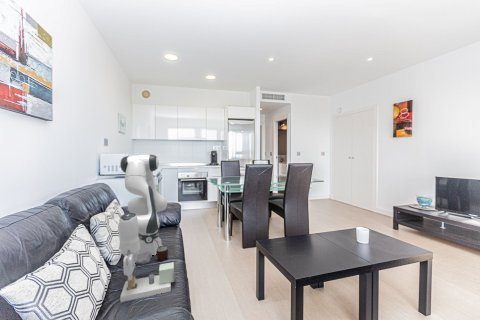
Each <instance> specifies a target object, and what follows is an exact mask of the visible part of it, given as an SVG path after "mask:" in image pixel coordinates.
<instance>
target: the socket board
mask: <svg viewBox="0 0 480 320" xmlns="http://www.w3.org/2000/svg"><path fill="white" fill-rule="evenodd" d="M135 281H136V289H131V290H128V280H126V281H125V282H124V285H123V288H122V291H121V293H120V297H119V299H120V303H125V302H129V301H133V300H138V299H142V298H147V297H151V296H157V295H160V294H161V293H162V294H166V293H170V292H171V291H172V290H171V289H172V285H171V284H172V282H170V283H165V284H160V278H159V274H158V275H155V274H154V273H150V274H149V275H148V276H147V277H142V278H135ZM156 294H157V295H156Z"/></svg>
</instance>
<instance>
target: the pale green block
mask: <svg viewBox="0 0 480 320" xmlns="http://www.w3.org/2000/svg"><path fill="white" fill-rule="evenodd" d="M174 263H175V262H174V261H172V262H167V263H161V264H159V268H158V275H159V278H160V284H165V283H170V282H171V283H173V282H175V266H174V265H175V264H174Z"/></svg>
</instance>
